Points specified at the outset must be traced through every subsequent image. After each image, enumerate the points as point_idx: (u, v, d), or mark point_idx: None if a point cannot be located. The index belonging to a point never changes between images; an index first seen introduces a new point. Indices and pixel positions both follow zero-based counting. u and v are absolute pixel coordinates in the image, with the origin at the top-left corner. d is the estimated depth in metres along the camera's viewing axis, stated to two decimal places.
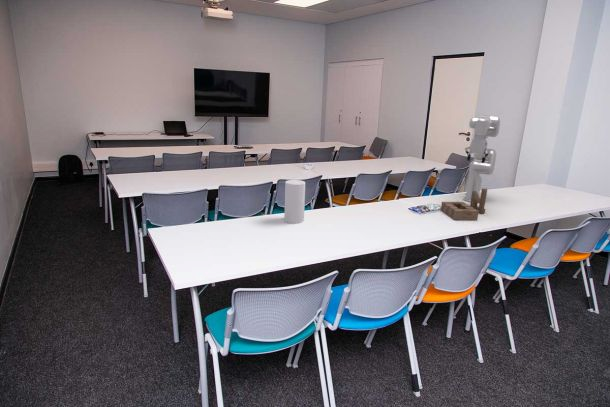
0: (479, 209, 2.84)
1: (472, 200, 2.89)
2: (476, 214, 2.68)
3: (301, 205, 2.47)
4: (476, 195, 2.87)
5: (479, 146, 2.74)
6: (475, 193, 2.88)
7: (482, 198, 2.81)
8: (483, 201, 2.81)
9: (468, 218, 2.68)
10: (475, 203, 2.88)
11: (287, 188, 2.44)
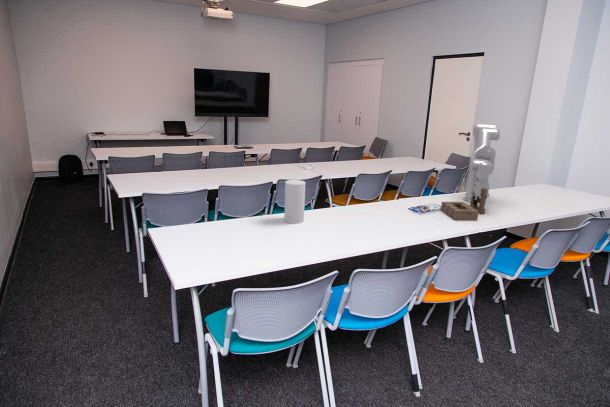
0: (479, 209, 2.84)
1: (472, 199, 2.89)
2: (476, 214, 2.68)
3: (301, 205, 2.47)
4: None
5: None
6: None
7: (482, 198, 2.81)
8: (483, 201, 2.81)
9: (468, 218, 2.68)
10: None
11: (287, 188, 2.44)
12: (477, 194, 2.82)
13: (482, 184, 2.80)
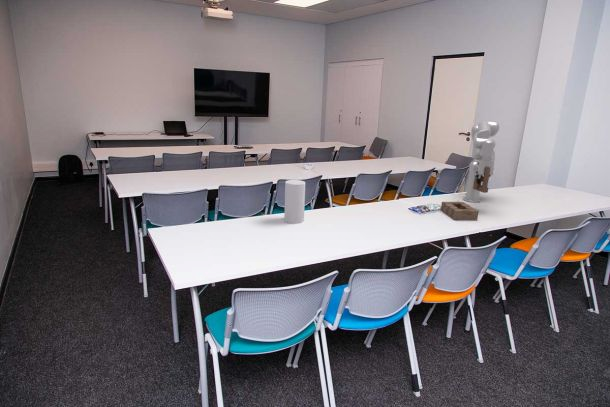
0: (482, 188, 2.80)
1: (475, 178, 2.85)
2: (476, 214, 2.68)
3: (301, 205, 2.47)
4: None
5: None
6: None
7: (485, 176, 2.77)
8: (486, 180, 2.77)
9: (468, 218, 2.68)
10: None
11: (287, 188, 2.44)
12: (481, 172, 2.78)
13: (486, 162, 2.76)
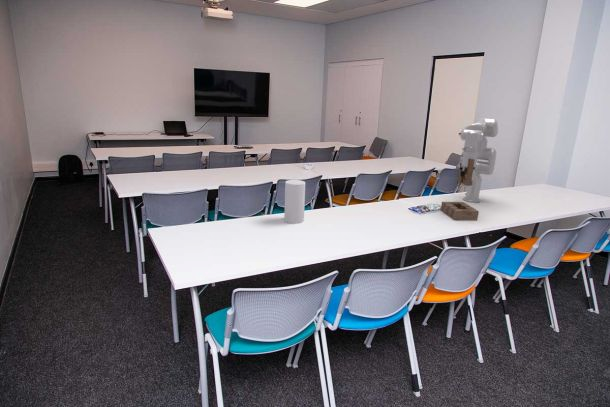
0: (466, 181, 2.69)
1: (459, 171, 2.74)
2: (476, 214, 2.68)
3: (301, 205, 2.47)
4: None
5: None
6: None
7: (469, 169, 2.66)
8: (470, 172, 2.66)
9: (468, 218, 2.68)
10: None
11: (287, 188, 2.44)
12: (464, 165, 2.66)
13: (470, 154, 2.65)
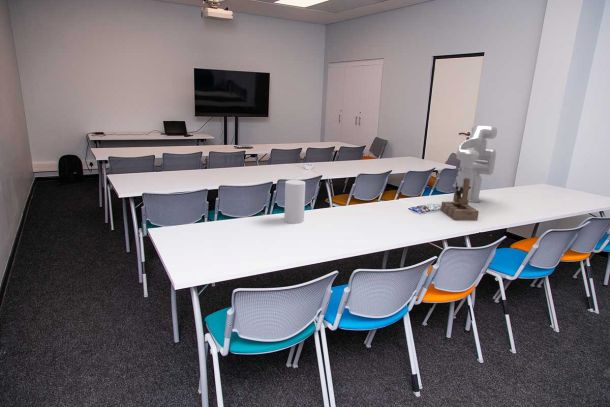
0: (462, 200, 2.72)
1: (455, 190, 2.77)
2: (476, 214, 2.68)
3: (301, 205, 2.47)
4: None
5: None
6: None
7: (465, 188, 2.69)
8: (466, 192, 2.69)
9: (468, 218, 2.68)
10: None
11: (287, 188, 2.44)
12: (460, 184, 2.69)
13: (465, 174, 2.68)
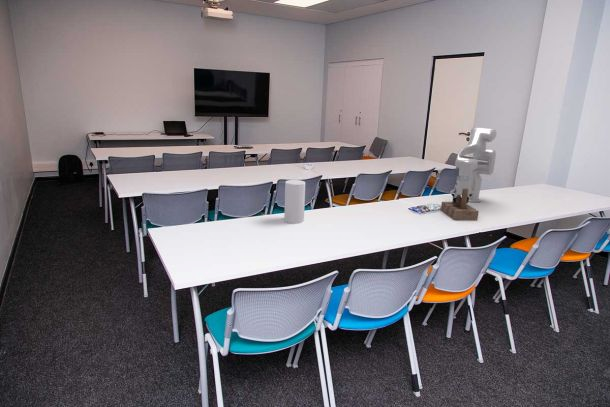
0: None
1: None
2: (476, 214, 2.68)
3: (301, 205, 2.47)
4: (458, 195, 2.78)
5: None
6: None
7: (463, 199, 2.71)
8: (464, 202, 2.71)
9: (468, 218, 2.68)
10: (457, 204, 2.79)
11: (287, 188, 2.44)
12: (459, 193, 2.71)
13: (464, 182, 2.69)
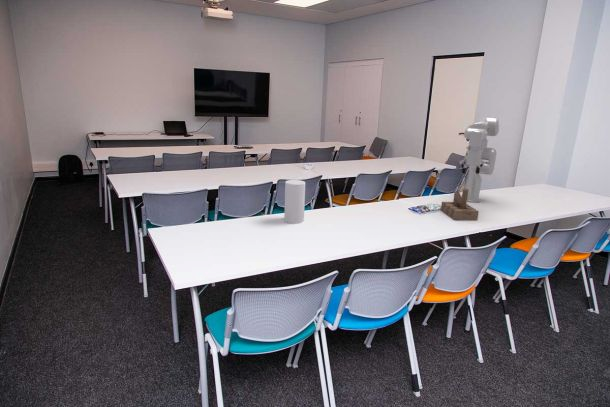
0: None
1: (454, 200, 2.80)
2: (476, 214, 2.68)
3: (301, 205, 2.47)
4: (458, 196, 2.78)
5: None
6: (457, 193, 2.79)
7: (463, 199, 2.71)
8: (464, 202, 2.71)
9: (468, 218, 2.68)
10: (457, 204, 2.79)
11: (287, 188, 2.44)
12: (469, 163, 2.68)
13: (474, 153, 2.67)
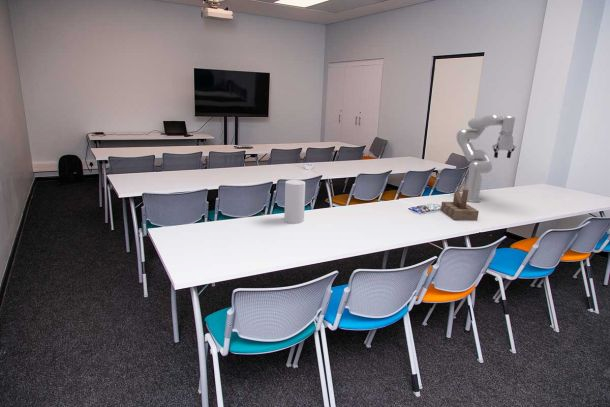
0: None
1: (454, 200, 2.80)
2: (476, 214, 2.68)
3: (301, 205, 2.47)
4: (458, 196, 2.78)
5: None
6: (457, 193, 2.79)
7: (463, 199, 2.71)
8: (464, 202, 2.71)
9: (468, 218, 2.68)
10: (457, 204, 2.79)
11: (287, 188, 2.44)
12: (501, 148, 2.82)
13: (506, 137, 2.80)
